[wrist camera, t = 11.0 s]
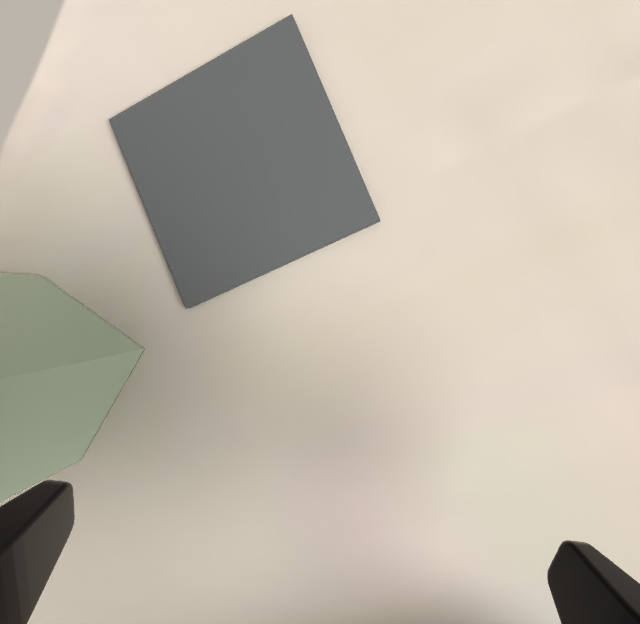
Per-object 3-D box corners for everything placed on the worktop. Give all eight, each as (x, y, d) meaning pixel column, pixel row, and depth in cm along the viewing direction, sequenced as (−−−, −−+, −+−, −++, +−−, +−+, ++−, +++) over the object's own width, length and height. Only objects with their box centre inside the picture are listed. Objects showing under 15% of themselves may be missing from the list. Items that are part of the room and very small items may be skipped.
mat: (380, 221, 18) (379, 219, 18) (190, 308, 20) (186, 308, 20) (294, 19, 19) (292, 14, 18) (114, 122, 20) (108, 119, 20)
